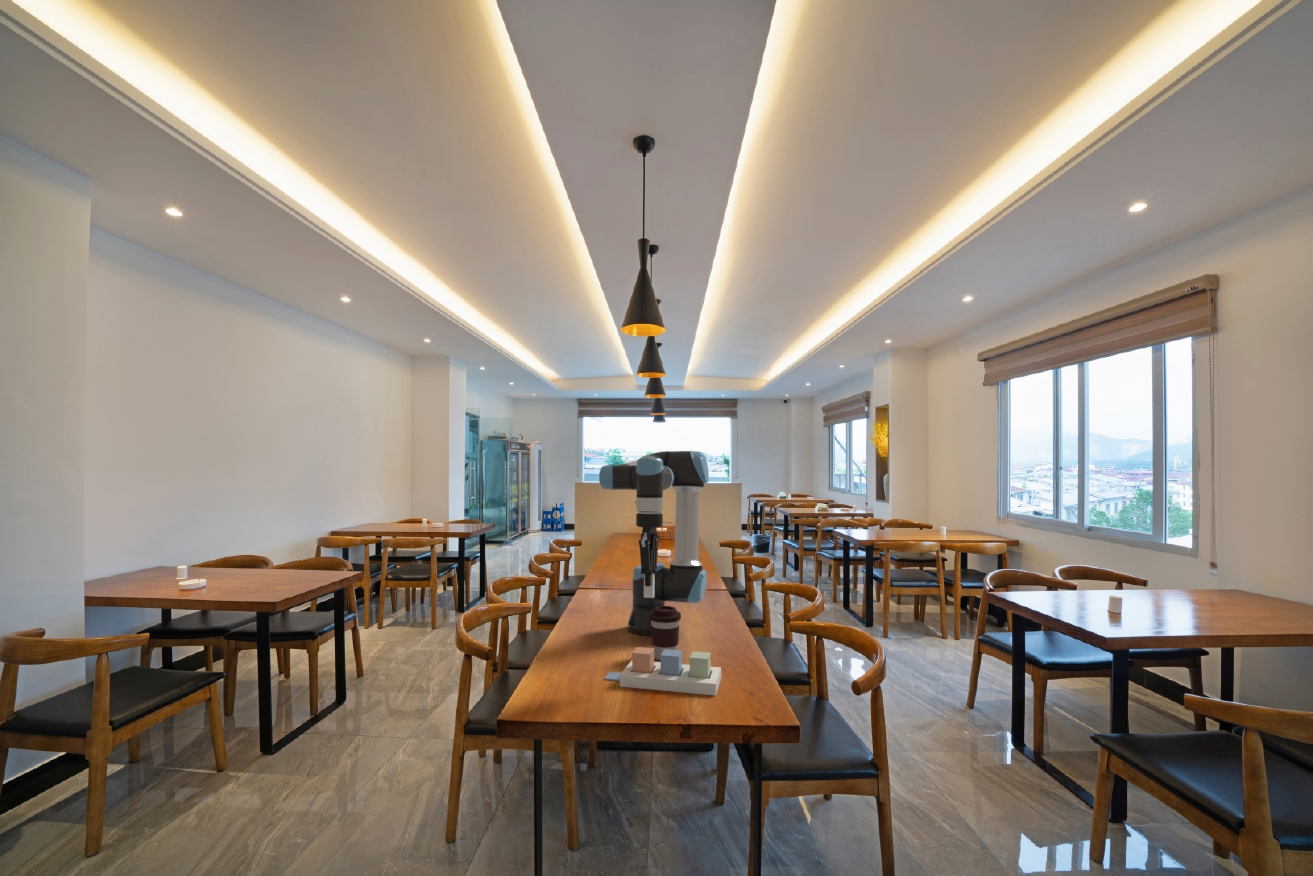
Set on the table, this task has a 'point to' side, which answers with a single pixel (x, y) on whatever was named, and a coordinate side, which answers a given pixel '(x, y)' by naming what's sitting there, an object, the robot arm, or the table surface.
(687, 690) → the button board
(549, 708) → the table surface
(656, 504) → the robot arm
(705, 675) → the button sage
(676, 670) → the button slate
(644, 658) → the button terracotta
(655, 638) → the coffee cup
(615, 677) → the swatch
